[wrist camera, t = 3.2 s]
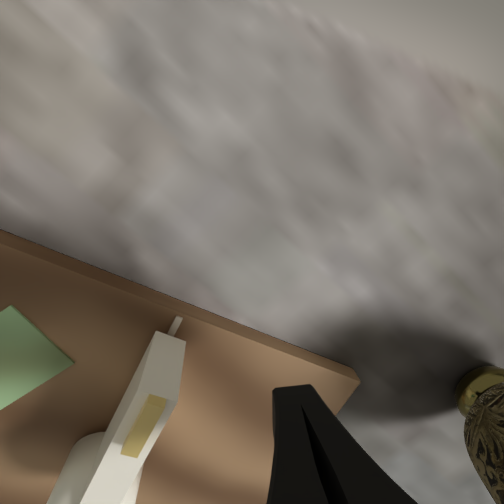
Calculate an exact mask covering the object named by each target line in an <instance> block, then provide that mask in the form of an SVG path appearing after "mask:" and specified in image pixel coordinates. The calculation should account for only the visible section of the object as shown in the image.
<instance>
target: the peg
mask: <svg viewBox="0 0 504 504" xmlns="http://www.w3.org/2000/svg"><path fill="white" fill-rule="evenodd" d="M185 346H186V341H183V340H181V339H178V338H175V337H172V336H170V335H167V334H164V333H161V332H159V331H156V332H155V334H154V336H153V338H152V340H151V342H150V344H149V346H148V348H147V350H146V352H145V354H144V356H143V358H142V360H141V362H140V364H139V366H138V368H137V370H136V372H135V374H134V376H133V378H132V380H131V382H130V384H129V386H128V388H127V390H126V392H125V394H124V396H123V398H122V400H121V402H120V404H119V406H118V408H117V410H116V412H115V414H114V416H113V418H112V420H111V422H110V424H109V426H108V428H107V430H106V432H97V433H93V434H90V435H87V436H85V437H83V438H81V439H80V440H79V441H77V442H76V443H75V445H74V446H73V447H72V449H71V451H70V453H69V456H68V458H67V460H66V462H65V464H64V466H63V469H62V471H61V473H60V475H59V477H58V479H57V482H56V484H55V486H54V488H53V490H52V492H51V495H50V497H49V499H48V501H47V503H46V504H135V502H136V497H137V493H138V488H139V483H140V479H141V474H142V470H143V465H144V461H145V459H146V458H147V456H148V454H149V452H150V450H151V449H152V447H153V445H154V443H155V442H156V440H157V438H158V436H159V434H160V433H161V431H162V429H163V427H164V426H165V424H166V422H167V420H168V418H169V417H170V415H171V413H172V411H173V410H174V408H175V406H176V404H177V402H178V396H179V389H180V382H181V375H182V368H183V361H184V354H185Z"/></svg>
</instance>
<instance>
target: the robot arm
mask: <svg viewBox="0 0 504 504" xmlns="http://www.w3.org/2000/svg"><path fill="white" fill-rule="evenodd" d="M272 424H273V437H274V454H273V462H272V470H271V478H270V485H269V491H268V497H267V503H266V504H418V503H417V502H416V501H414V500H413V499H412V498H411V497H410V496H409V495H408V494H407V493H406V492H405V491H404V490H403V489H402V488H401V487H399V486H398V485H397V484H396V483H395V482H394V481H393V480H392V479H391V478H390V477H389V476H388V475H387V474H386V473H385V472H384V471H383V470H382V469H381V468H380V467H379V466H378V465H377V464H376V462H375V461H374V460H373V459H372V458H371V457H370V456H369V455H368V454H367V453H366V452H365V451H364V450H363V448H362V447H361V446H360V445H359V444H358V443H357V442H356V441H355V439H354V438H353V437H352V436H351V435H350V433H349V432H348V431H347V430H346V429H345V428H344V426H343V425H342V424H341V423H340V422H339V420H338V419H337V418H336V417H335V415H334V414H333V413H332V411H331V410H330V409H329V408H328V406H327V405H326V404H325V402H324V401H323V400H322V398H321V397H320V395H319V394H318V393H317V391H316V390H315V388H314V387H313V386H312V385H311V384H305V385H295V386H286V387H277V388H274V389H273V390H272Z"/></svg>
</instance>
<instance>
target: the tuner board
mask: <svg viewBox="0 0 504 504" xmlns="http://www.w3.org/2000/svg"><path fill="white" fill-rule="evenodd" d="M156 331H159V332H161V333H164V334H167V335H170V336H172V337H175V338H178V339H181V340H183V341H186V346H185V354H184V361H183V368H182V375H181V382H180V389H179V396H178V402H177V404H176V406H175V408H174V410H173V411H172V413H171V415H170V417H169V418H168V420H167V422H166V424H165V426H164V427H163V429H162V431H161V433H160V434H159V436H158V438H157V440H156V442H155V443H154V445H153V447H152V449H151V450H150V452H149V454H148V456H147V458H146V459H145V461H144V465H143V470H142V474H141V479H140V483H139V488H138V493H137V497H136V502H135V504H266V503H267V497H268V491H269V485H270V478H271V470H272V462H273V454H274V437H273V424H272V390H273V389H274V388H277V387H286V386H295V385H305V384H311V385H312V386H313V387H314V388H315V390H316V391H317V393H318V394H319V395H320V397H321V398H322V400H323V401H324V402H325V404H326V405H327V406H328V408H329V409H330V410H331V411H332V413H333V414H334V415H335V416H336V414H337V413H338V412H339V410H340V409H341V408H342V406H343V405H344V404H345V402H346V401H347V400H348V398H349V397H350V396H351V394H352V393H353V392H354V390H355V389H356V388H357V386H358V385H359V384H360V382H361V381H360V380H359V378H358V376H357V375H356V373H355V371H354V370H353V368H350V367H347V366H345V365H342V364H340V363H337V362H335V361H332V360H330V359H327V358H325V357H322V356H320V355H317V354H315V353H312V352H309V351H307V350H304V349H302V348H299V347H297V346H294V345H292V344H289V343H287V342H284V341H282V340H279V339H276V338H274V337H271V336H269V335H266V334H264V333H261V332H259V331H256V330H254V329H251V328H249V327H246V326H244V325H241V324H238V323H236V322H233V321H231V320H228V319H226V318H223V317H221V316H218V315H216V314H213V313H211V312H208V311H206V310H203V309H200V308H198V307H195V306H193V305H190V304H188V303H185V302H183V301H180V300H178V299H175V298H173V297H170V296H168V295H165V294H162V293H160V292H157V291H155V290H152V289H150V288H147V287H145V286H142V285H140V284H137V283H135V282H132V281H130V280H127V279H124V278H122V277H119V276H117V275H114V274H112V273H109V272H107V271H104V270H102V269H99V268H97V267H94V266H92V265H89V264H86V263H84V262H81V261H79V260H76V259H74V258H71V257H69V256H66V255H64V254H61V253H59V252H56V251H54V250H51V249H48V248H46V247H43V246H41V245H38V244H36V243H33V242H31V241H28V240H26V239H23V238H21V237H18V236H16V235H13V234H10V233H8V232H5V231H3V230H0V504H46V503H47V501H48V499H49V497H50V495H51V492H52V490H53V488H54V486H55V484H56V482H57V479H58V477H59V475H60V473H61V471H62V469H63V466H64V464H65V462H66V460H67V458H68V456H69V453H70V451H71V449H72V447H73V446H74V445H75V443H76V442H77V441H79V440H80V439H81V438H83V437H85V436H87V435H90V434H93V433H97V432H106V430H107V428H108V426H109V424H110V422H111V420H112V418H113V416H114V414H115V412H116V410H117V408H118V406H119V404H120V402H121V400H122V398H123V396H124V394H125V392H126V390H127V388H128V386H129V384H130V382H131V380H132V378H133V376H134V374H135V372H136V370H137V368H138V366H139V364H140V362H141V360H142V358H143V356H144V354H145V352H146V350H147V348H148V346H149V344H150V342H151V340H152V338H153V336H154V334H155V332H156Z"/></svg>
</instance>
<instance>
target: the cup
mask: <svg viewBox="0 0 504 504" xmlns="http://www.w3.org/2000/svg"><path fill="white" fill-rule="evenodd" d="M455 401H456V404H457V407H458V409H459V411H460V413H461V414H462V415H463V416H464V417H465V418H466V420H465V425H464V438H465V444H466V448H467V451H468V454H469V456H470V459H471V461H472V463H473V465H474V467H475V469H476V471H477V473H478V475H479V476H480V478H481V480H482V482H483V483H484V485H485V486H486V488H487V490H488V491H489V493H490V495H491V496H492V498H493V499H494V501H495V503H496V504H504V369H503V368H500V367H496V366H483V367H479V368H477V369H474V370H472V371H471V372H469V373H468V374H466V375H465V376H464V377H463V378H462V379H461V380H460V382H459V383H458V385H457V387H456V389H455Z"/></svg>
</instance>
